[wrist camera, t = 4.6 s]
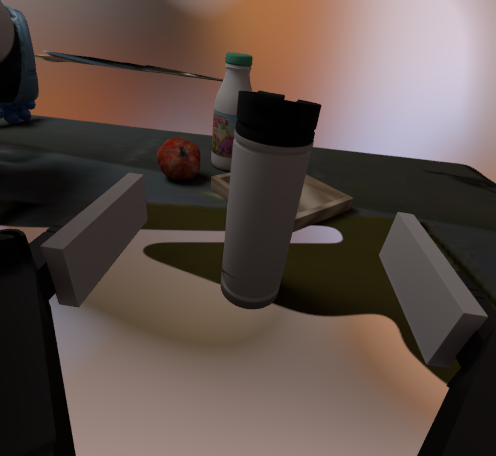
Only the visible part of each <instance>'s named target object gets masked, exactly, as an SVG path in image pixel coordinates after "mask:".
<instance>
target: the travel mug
mask: <svg viewBox="0 0 496 456" xmlns="http://www.w3.org/2000/svg"><path fill="white" fill-rule="evenodd" d="M284 97H285V96H284V95H281V94H275V93H269V92H264V91H258V92H250V91H239V92H238V103H237V114H236V117H237V119H238V120H237V121H236V125H235V130H234V137H235V138H234V141H233V151H232V162H231V174H230V185H229V197H228V208H227V219H226V231H225V242H224V254H223V265H222V277H221V290H222V293H223V295H224V296H225V297H226V298H227V299H228V300H229V301H230V302H231V303H233V304H234V305H236V306H239V307H241V308H245V309H260V308H264V307H266V306H268V305H270V304H271V303H273V301H274V300H275V299H276V297H277V295H278V291H279V287H280V283H281V278H282V274H283V270H284V266H285V261H286V257H287V253H288V249H289V244H290V240H291V236H292V232H293V227H294V223H295V219H296V215H297V210H298V206H299V202H300V198H301V193H302V189H303V185H304V181H305V176H306V172H307V168H308V164H309V159H310V155H311V148H312V147H313V142H314V140H313V139H314V135H315V132H314V130H315V129H316V126H317V122H318V118H319V113H320V109H321V105H320V104H317V103H313V102H308V101H303V100H298V101H296V102H293V101H288V100H284Z"/></svg>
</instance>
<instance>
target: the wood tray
mask: <svg viewBox="0 0 496 456" xmlns="http://www.w3.org/2000/svg"><path fill="white" fill-rule="evenodd" d="M230 174H231V173H227V174H222V175H217V176H212V177H211V189H212V190H213V191H215V192H216V193H217V194H219V195H220V196H221V197H223V198H224V199H225V200H227V201H228V197H229V185H230ZM352 201H353V198H352V197H350V196H348V195H346V194H344V193H342V192H340V191H338V190H336V189H334V188H332V187H330V186H328V185H326V184H324V183H322V182H320V181H318V180H316V179H314V178H312V177H310V176H309V175H307V174H306V176H305V181H304V185H303V189H302V193H301V198H300V202H299V206H298V210H297V215H296V219H295V223H294V227H293V232H295V231H297V230H300V229H302V228H305V227H307V226H310V225H312V224H315V223H317V222H320V221H322V220H325V219H327V218H330V217H333V216H335V215H338V214H340V213H343V212H345V211H348V210H350V207H351V204H352Z"/></svg>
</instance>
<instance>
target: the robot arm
mask: <svg viewBox="0 0 496 456" xmlns="http://www.w3.org/2000/svg"><path fill="white" fill-rule="evenodd" d="M38 92H39V89H38V78H37V73H36V64H35V58H34V52H33V47H32V42H31V37H30V32H29V28H28V24H27V21H26V19H25V17H24V15H23V14H22V13H21V12H20V11H18V10H16V9H12V8H10V7H8V6H4V5H3V3H2V2H1V1H0V103H7V104H16V103H24V102H33V101H34V100H35V99H37V97H38ZM146 221H147V210H146V198H145V186H144V175H142V174H135V173H128V174H127V175H126V176H124V177H123V178H122V179H121V180H120V181H118V182H117V183H116V184H115V185H114V186H112V187H111V188H110V189H109V190H107V191H106V192H105V193H104V194H103V195H101V196H100V197H99V198H98V199H97V200H95V201H94V202H93V203H92V204H90V205H89V206H88V207H87V208H86V209H84V210H83V211H82V212H81V213H80V214H76V213H73V214H71V215H68V216H66V217H63V218H61V219H60V220H59V221H58V222H56V223H55V224H54V225H53V226H51V227H50V228H49V229H47V230H46V232H44V233H42V234H41V235H40V236H38V237H37V238H36V239H35V240H33V241H32V242H31V243H29V244H28V241H27V238H26V235H25V234H24V232H22V231H20V230H17V229H5V230H0V456H76V454H75V449H74V442H73V436H72V431H71V425H70V419H69V413H68V407H67V401H66V395H65V389H64V383H63V377H62V372H61V365H60V359H59V354H58V348H57V342H56V336H55V330H54V324H53V318H52V312H51V306H50V304H49V299H50V298H51V297H52V296H53V295H54V294H55V293H56V296H57V299H58V302H59V304H62V305H67V306H73V307H79V306H80V305H81V304H82V302H83V301H84V300H85V299H86V297H87V296H88V295H89V294H90V292H91V291H92V290H93V288H94V287H95V286H96V285H97V283H98V282H99V281H100V280H101V278H102V277H103V276H104V274H105V273H106V272H107V271H108V269H109V268H110V267H111V266H112V264H113V263H114V262H115V260H116V259H117V258H118V257H119V255H120V254H121V253H122V252H123V250H124V249H125V248H126V246H127V245H128V244H129V243H130V241H131V240H132V239H133V238H134V236H135V235H136V234H137V232H138V231H139V230H140V229H141V227H142V226H143V225H144V224H145V222H146ZM379 256H380V259H381V261H382V263H383V266H384V268H385V270H386V272H387V275H388V277H389V279H390V282H391V284H392V286H393V289H394V291H395V293H396V296H397V298H398V300H399V302H400V305H401V307H402V309H403V312H404V314H405V316H406V319H407V321H408V323H409V326H410V328H411V330H412V333H413V335H414V337H415V339H416V342H417V344H418V346H419V349H420V351H421V353H422V356H423V358H424V360H425V363H426V365H431V366H437V367H443V368H448V367H449V366H450V365H451V363H452V362H453V361H454V360H455V358H456V359H457V360H458V362H459V364H460V366H461V369H460V370H459V371H458V372H457V374H456V375H455V376H454V377H453V378H452V380H451V381H450V382H449V383H448V384H447V387H449V390H448V392H447V394H446V396H445V399H444V401H443V403H442V405H441V407H440V409H439V411H438V413H437V416H436V418H435V420H434V422H433V424H432V426H431V428H430V430H429V432H428V434H427V436H426V438H425V440H424V443H423V445H422V447H421V449H420V451H419V453H418V455H417V456H496V311H495V310H494V309H493V307H492V306H491V305H490V304H489V302H488V301H487V300H485V297H484V296H483V295H482V293H481V292H479V289H478V288H477V287H476V286H475V284H474V283H473V282H472V280H470V279H469V278H468V277H467V276H465V275H464V274H463V273H461V272H460V271H454V269H453V268H452V267H451V265H450V264H449V262H448V261H447V260H446V258H445V257H444V256H443V254H442V253H441V252H440V250H439V249H438V248H437V246H436V245H435V243H434V242H433V241H432V239H431V238H430V237H429V235H428V234H427V233H426V231H425V230H424V228H423V227H422V226H421V224H420V223H419V222H418V220H417V219H416V218H415V216H414V215H413V214H407V213H400V212H398V213H397V215H396V218H395V220H394V222H393V225H392V227H391V229H390V231H389V234H388V236H387V238H386V241H385V243H384V245H383V248H382V250H381V252H380V254H379Z"/></svg>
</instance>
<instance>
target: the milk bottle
mask: <svg viewBox="0 0 496 456" xmlns="http://www.w3.org/2000/svg"><path fill="white" fill-rule="evenodd" d="M225 62H226V65H225V67H226V74H225V78H224V80H223V83H222V85H221V87H220V89H219V91H218V93H217V96H216V100H215V107H214V118H213V136H212V156H211V162H212V164H213V166H215V167H216V168H218V169H221V170H225V171H231V162H232V151H233V141H234V138H235V137H234V130H235V125H236V121H237V120H238V119H237V117H236V114H237V103H238V92H239V91H250V92H252V88H251V85H250V77H249V73H250V70H251V65H252V56H251V55H247V54H240V53H230V52H229V53H226V57H225Z"/></svg>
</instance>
